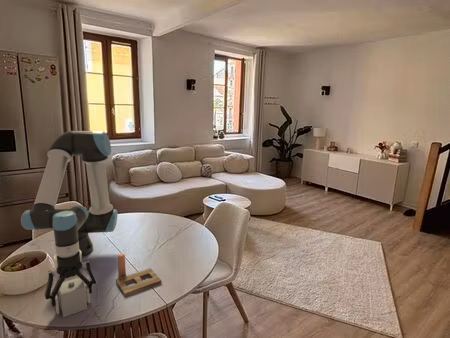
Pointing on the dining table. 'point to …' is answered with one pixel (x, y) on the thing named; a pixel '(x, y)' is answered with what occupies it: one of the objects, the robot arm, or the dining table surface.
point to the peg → (121, 265)
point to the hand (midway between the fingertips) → (73, 306)
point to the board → (138, 281)
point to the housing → (72, 297)
